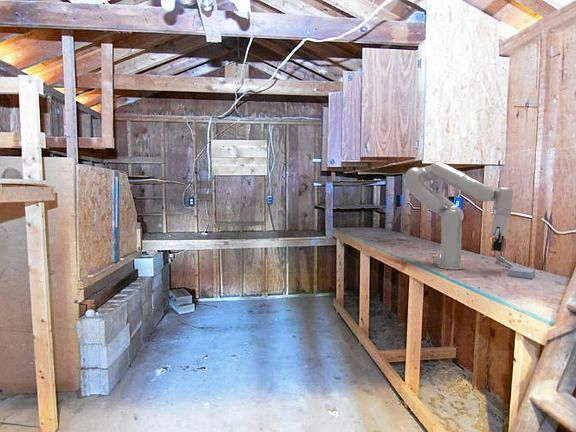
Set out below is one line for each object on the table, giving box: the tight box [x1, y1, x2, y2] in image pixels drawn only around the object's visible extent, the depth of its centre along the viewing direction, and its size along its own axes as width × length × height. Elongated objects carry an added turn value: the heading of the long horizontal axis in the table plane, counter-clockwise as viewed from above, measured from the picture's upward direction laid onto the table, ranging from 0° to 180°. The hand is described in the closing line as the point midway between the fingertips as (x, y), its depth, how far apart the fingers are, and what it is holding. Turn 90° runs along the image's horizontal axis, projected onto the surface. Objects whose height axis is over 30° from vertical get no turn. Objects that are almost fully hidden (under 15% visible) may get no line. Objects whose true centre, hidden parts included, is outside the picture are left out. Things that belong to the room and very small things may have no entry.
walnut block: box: [491, 237, 507, 253], centre depth 171 cm, size 5×5×6 cm
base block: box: [507, 266, 536, 280], centre depth 165 cm, size 9×9×3 cm
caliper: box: [495, 252, 517, 268], centre depth 184 cm, size 20×1×6 cm, turn 178°
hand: (498, 249), depth 171 cm, fingers closed on walnut block, 5 cm apart
